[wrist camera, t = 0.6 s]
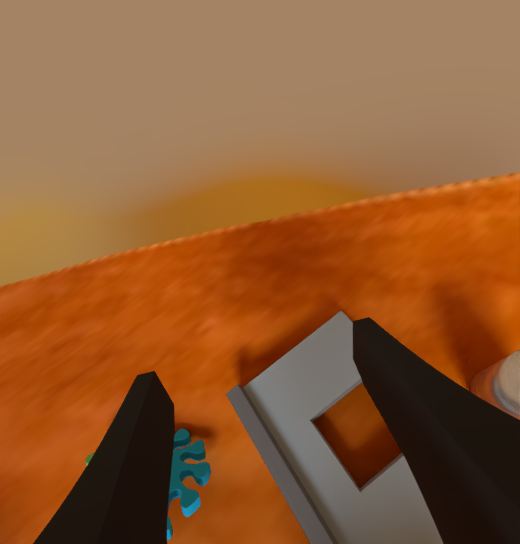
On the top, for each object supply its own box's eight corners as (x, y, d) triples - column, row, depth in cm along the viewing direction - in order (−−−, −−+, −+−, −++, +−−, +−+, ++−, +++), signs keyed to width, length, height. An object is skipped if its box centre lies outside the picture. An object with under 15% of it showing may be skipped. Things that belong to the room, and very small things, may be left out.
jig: (502, 492, 21) (529, 501, 18) (366, 612, 20) (368, 645, 17) (342, 319, 30) (340, 304, 26) (240, 399, 29) (225, 393, 25)
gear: (232, 441, 26) (136, 575, 17) (240, 495, 28) (156, 641, 19) (138, 406, 31) (29, 497, 23) (149, 454, 33) (52, 555, 24)
